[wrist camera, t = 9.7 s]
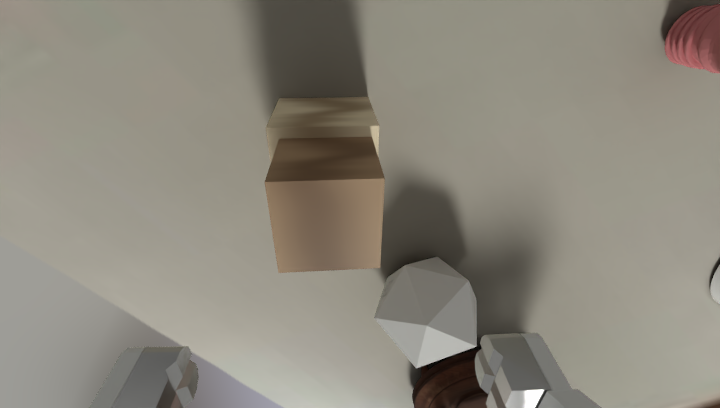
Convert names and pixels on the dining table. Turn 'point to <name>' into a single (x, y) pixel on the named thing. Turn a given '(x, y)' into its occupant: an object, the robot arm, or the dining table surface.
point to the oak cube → (322, 119)
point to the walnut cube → (326, 204)
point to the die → (428, 311)
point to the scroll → (450, 384)
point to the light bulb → (696, 39)
